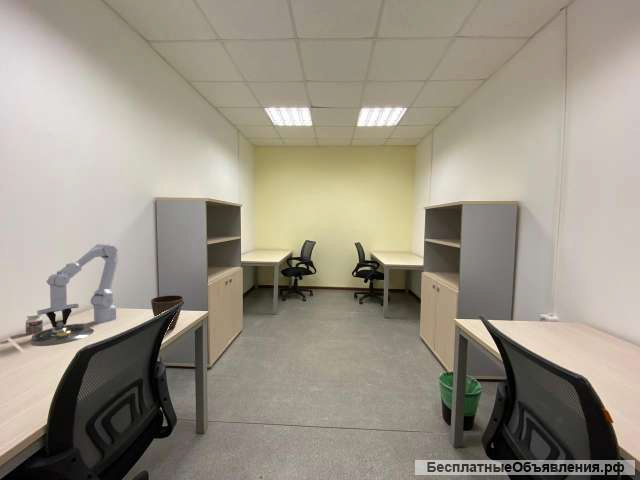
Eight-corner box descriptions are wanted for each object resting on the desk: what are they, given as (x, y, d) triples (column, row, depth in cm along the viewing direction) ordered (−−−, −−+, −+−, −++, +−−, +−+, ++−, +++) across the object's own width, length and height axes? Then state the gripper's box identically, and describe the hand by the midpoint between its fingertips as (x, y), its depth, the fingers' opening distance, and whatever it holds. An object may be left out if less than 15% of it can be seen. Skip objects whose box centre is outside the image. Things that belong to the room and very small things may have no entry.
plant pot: (178, 321, 154) (178, 293, 154) (187, 328, 144) (186, 298, 143) (148, 327, 144) (147, 298, 143) (155, 335, 133) (155, 304, 133)
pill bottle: (31, 337, 129) (31, 316, 129) (22, 335, 131) (22, 315, 130) (45, 332, 135) (45, 313, 135) (37, 331, 136) (36, 312, 136)
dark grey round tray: (83, 326, 144) (83, 320, 144) (101, 335, 133) (101, 329, 133) (24, 340, 125) (23, 334, 125) (39, 352, 114) (39, 345, 114)
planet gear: (69, 330, 133) (69, 319, 133) (55, 334, 128) (54, 323, 128) (63, 329, 135) (63, 318, 135) (49, 333, 130) (48, 321, 130)
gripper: (74, 294, 139) (75, 319, 140) (34, 300, 127) (35, 328, 128) (80, 296, 136) (80, 322, 136) (39, 302, 123) (40, 331, 124)
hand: (59, 325), depth 132 cm, fingers closed on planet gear, 3 cm apart
